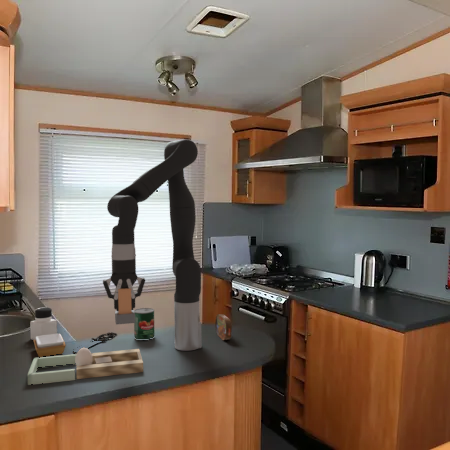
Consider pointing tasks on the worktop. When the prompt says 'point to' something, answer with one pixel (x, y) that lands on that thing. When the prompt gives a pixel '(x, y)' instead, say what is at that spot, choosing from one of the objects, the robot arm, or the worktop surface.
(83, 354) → the egg
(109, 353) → the shallow wooden box
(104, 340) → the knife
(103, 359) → the chip block
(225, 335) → the tin
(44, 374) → the tray
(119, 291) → the tan block grey base
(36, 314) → the medicine bottle
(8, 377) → the worktop surface
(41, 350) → the soap dish
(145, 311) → the canned tomato
